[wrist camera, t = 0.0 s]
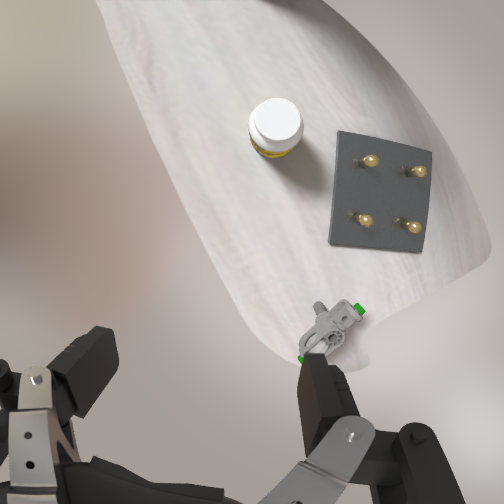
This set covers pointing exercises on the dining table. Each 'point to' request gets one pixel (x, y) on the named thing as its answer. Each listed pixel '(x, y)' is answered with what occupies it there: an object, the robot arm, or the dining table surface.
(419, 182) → the plate
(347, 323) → the mechanical component
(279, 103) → the pill bottle
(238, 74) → the dining table surface
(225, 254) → the dining table surface
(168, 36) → the dining table surface
